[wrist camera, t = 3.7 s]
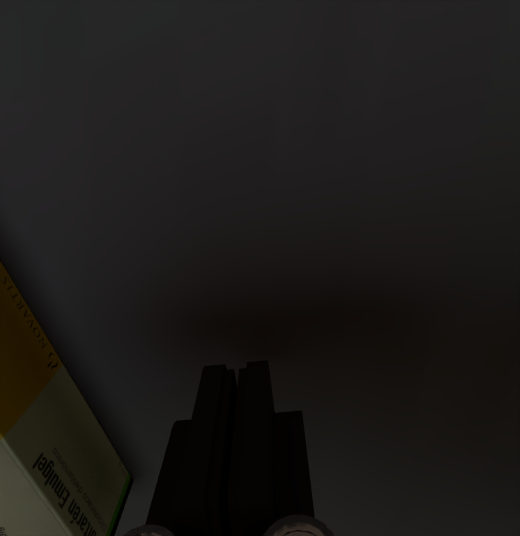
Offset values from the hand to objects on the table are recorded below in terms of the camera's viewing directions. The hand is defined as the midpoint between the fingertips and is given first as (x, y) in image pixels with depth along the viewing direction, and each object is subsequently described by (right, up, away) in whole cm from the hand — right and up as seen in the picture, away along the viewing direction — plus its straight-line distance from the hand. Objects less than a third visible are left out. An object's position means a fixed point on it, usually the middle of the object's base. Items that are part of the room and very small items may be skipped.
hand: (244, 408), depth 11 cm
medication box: (-8, 0, +4) cm, 9 cm away
